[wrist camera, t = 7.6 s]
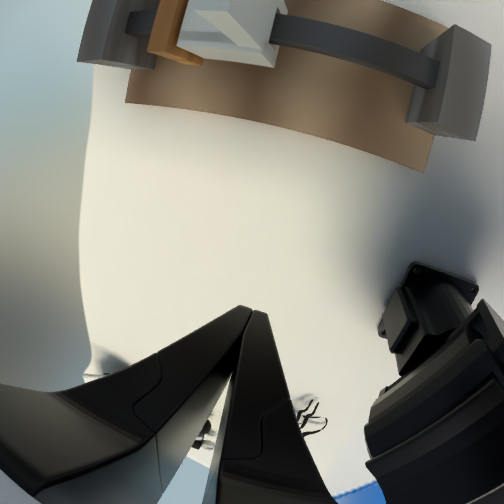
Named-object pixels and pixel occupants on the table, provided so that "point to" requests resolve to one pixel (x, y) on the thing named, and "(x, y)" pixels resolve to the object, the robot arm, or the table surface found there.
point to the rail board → (310, 72)
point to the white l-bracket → (231, 30)
